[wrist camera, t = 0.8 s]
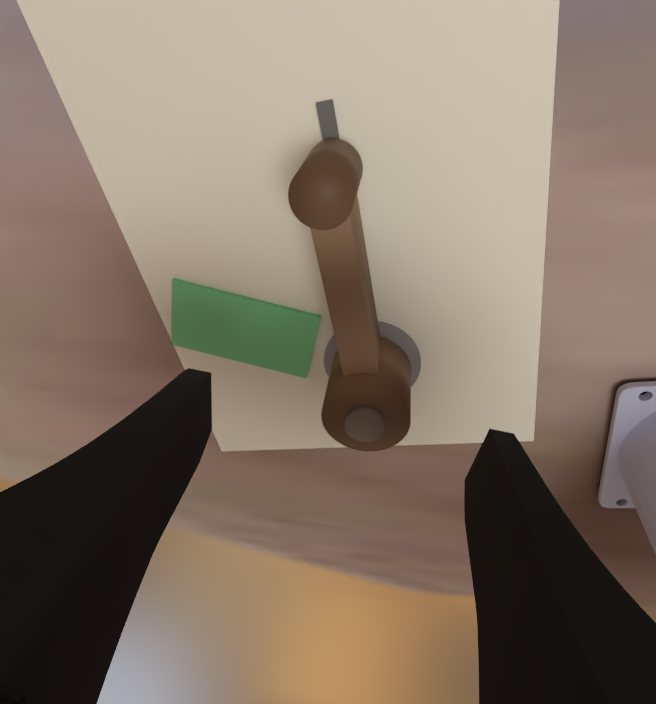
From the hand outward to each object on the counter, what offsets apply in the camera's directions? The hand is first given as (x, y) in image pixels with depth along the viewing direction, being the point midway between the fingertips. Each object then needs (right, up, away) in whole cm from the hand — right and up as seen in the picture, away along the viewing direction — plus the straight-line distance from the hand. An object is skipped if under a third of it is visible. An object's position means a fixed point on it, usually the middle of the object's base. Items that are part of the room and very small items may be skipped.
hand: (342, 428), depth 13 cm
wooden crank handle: (+1, +4, +5) cm, 7 cm away
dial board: (0, +6, +6) cm, 9 cm away
